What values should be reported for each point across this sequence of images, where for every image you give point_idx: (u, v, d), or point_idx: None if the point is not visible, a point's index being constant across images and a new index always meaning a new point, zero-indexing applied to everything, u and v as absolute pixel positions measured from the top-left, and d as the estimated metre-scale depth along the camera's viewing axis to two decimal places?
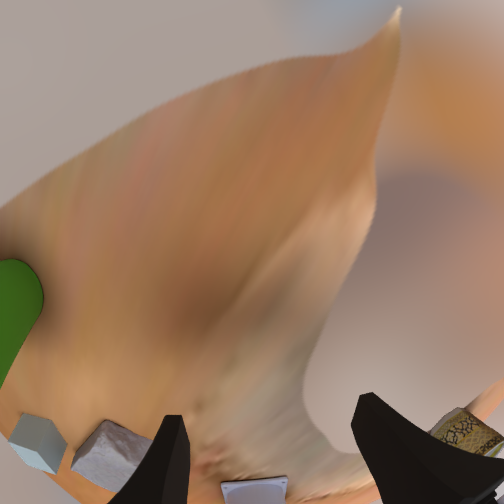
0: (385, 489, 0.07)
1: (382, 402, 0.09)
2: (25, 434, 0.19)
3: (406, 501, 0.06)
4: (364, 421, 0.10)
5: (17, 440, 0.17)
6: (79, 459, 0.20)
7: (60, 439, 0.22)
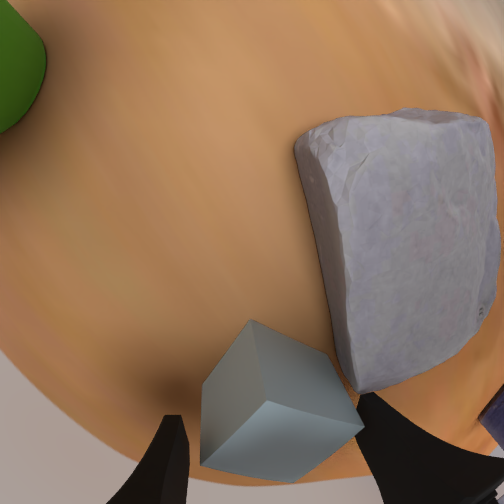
0: (386, 489, 0.07)
1: (383, 402, 0.09)
2: (223, 405, 0.10)
3: (407, 501, 0.06)
4: (365, 421, 0.10)
5: (215, 437, 0.09)
6: (350, 326, 0.10)
7: (304, 350, 0.13)
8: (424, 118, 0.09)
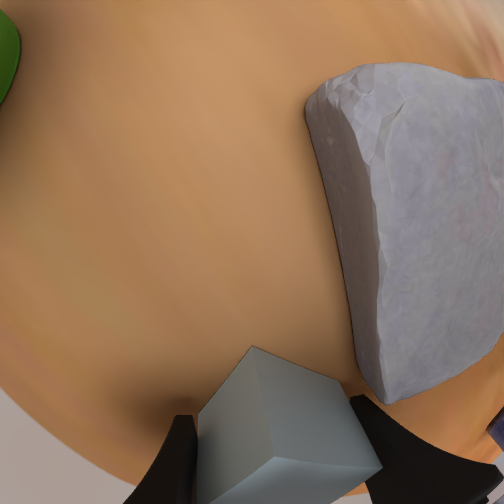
0: (375, 493, 0.07)
1: (373, 405, 0.09)
2: (221, 447, 0.08)
3: None
4: None
5: (213, 484, 0.07)
6: (380, 326, 0.08)
7: (314, 379, 0.11)
8: None
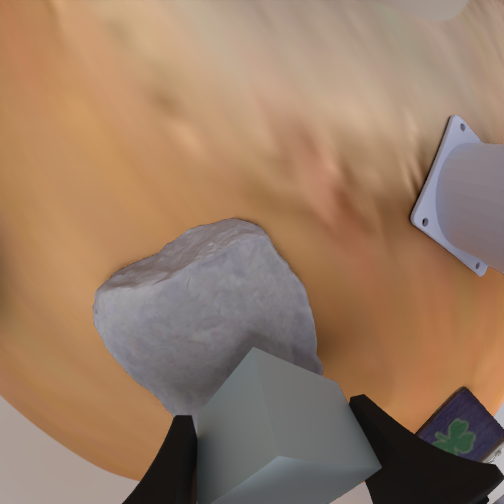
0: (376, 492, 0.07)
1: (373, 404, 0.09)
2: (223, 447, 0.08)
3: None
4: None
5: (214, 484, 0.07)
6: (160, 399, 0.14)
7: (314, 380, 0.11)
8: (179, 255, 0.13)
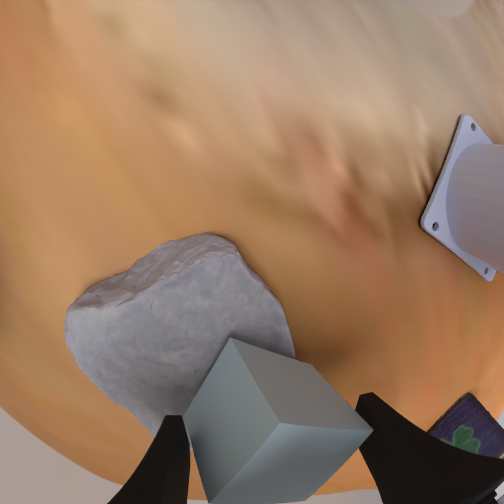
0: (385, 489, 0.07)
1: (382, 402, 0.09)
2: (220, 435, 0.09)
3: (406, 501, 0.06)
4: None
5: (220, 471, 0.07)
6: (136, 416, 0.13)
7: (290, 363, 0.12)
8: (146, 274, 0.12)
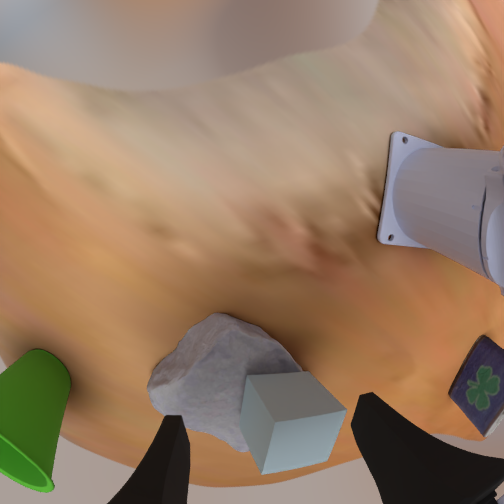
0: (385, 489, 0.07)
1: (382, 402, 0.09)
2: (256, 433, 0.15)
3: (406, 501, 0.06)
4: (364, 421, 0.10)
5: (261, 454, 0.14)
6: (214, 435, 0.20)
7: (290, 377, 0.18)
8: (188, 353, 0.19)
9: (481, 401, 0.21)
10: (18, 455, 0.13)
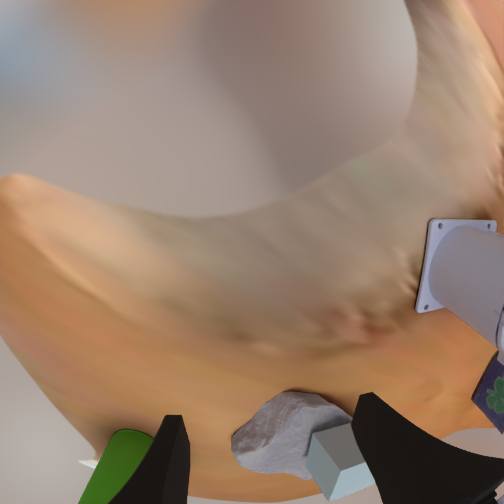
0: (385, 489, 0.07)
1: (382, 402, 0.09)
2: (323, 474, 0.18)
3: (406, 501, 0.06)
4: (364, 421, 0.10)
5: (328, 488, 0.17)
6: (286, 472, 0.24)
7: (345, 429, 0.21)
8: (266, 426, 0.22)
9: (498, 406, 0.23)
10: None
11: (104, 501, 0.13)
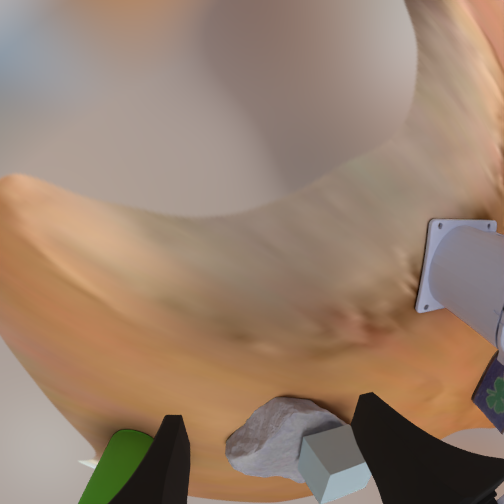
0: (385, 489, 0.07)
1: (382, 402, 0.09)
2: (314, 478, 0.18)
3: (406, 501, 0.06)
4: (364, 421, 0.10)
5: (319, 492, 0.17)
6: (280, 475, 0.24)
7: (336, 433, 0.21)
8: (258, 431, 0.22)
9: (498, 406, 0.23)
10: None
11: (104, 501, 0.13)
